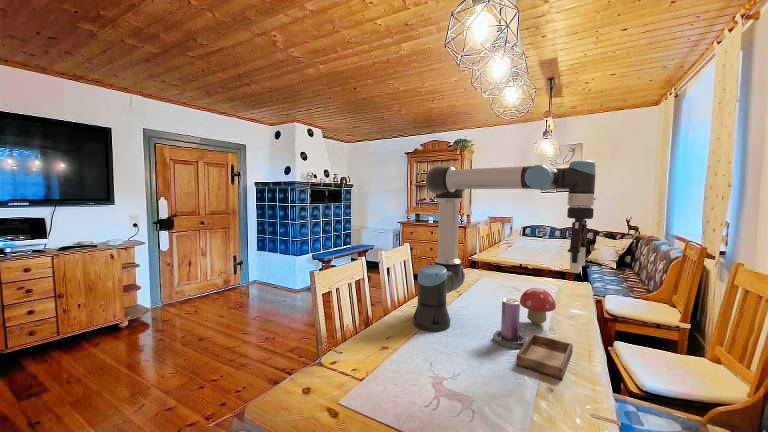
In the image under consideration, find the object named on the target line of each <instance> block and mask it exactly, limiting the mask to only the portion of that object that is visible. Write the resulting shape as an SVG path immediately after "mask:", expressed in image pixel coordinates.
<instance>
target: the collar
mask: <svg viewBox="0 0 768 432" xmlns="http://www.w3.org/2000/svg"><path fill="white" fill-rule="evenodd" d="M492 336H493V337H492V340H493V341H494V342H495V343H496V344H497V345H498V346H501V347H504V348H507V349H514V350H515V349H521V348H522V347H523V346H524V344H525V343H526V341H527V340H528V339H527V337H525V336H524V335H523V334H522V333H520V332H519V341H518V342H509V341H505V340H502V339H501V330H496V331H495V332H494V333H493V334H492Z"/></svg>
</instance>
